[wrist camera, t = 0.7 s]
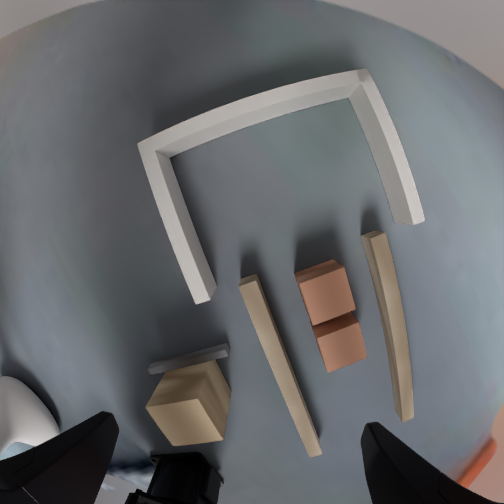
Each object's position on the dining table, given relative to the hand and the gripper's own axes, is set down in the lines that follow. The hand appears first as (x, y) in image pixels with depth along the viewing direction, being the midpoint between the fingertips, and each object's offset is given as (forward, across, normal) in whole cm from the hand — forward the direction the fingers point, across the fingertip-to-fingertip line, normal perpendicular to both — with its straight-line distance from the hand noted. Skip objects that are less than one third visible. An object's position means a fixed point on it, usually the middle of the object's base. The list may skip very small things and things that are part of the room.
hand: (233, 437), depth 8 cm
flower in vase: (+11, +28, +16) cm, 35 cm away
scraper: (+12, +5, +7) cm, 15 cm away
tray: (+14, -2, -8) cm, 16 cm away
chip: (+13, -5, -1) cm, 14 cm away
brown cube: (+13, -6, +3) cm, 15 cm away
